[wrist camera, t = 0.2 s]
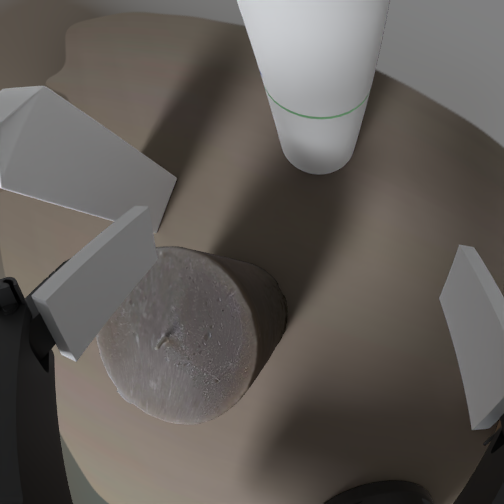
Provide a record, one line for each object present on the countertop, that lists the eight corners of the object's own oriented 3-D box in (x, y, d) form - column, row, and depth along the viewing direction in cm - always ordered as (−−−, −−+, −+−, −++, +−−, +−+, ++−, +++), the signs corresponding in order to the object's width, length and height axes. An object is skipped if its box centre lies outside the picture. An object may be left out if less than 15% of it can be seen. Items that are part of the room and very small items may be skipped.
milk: (133, 166, 32) (-27, 68, 10) (178, 178, 30) (8, 56, 9) (113, 218, 32) (-67, 159, 10) (157, 235, 30) (-46, 174, 9)
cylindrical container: (344, 104, 28) (356, -138, 3) (362, 168, 27) (445, -92, 2) (275, 114, 29) (192, -124, 5) (287, 180, 28) (191, -90, 4)
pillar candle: (308, 296, 27) (299, 315, 12) (251, 384, 27) (190, 468, 13) (217, 241, 29) (126, 204, 15) (168, 327, 29) (58, 355, 15)
